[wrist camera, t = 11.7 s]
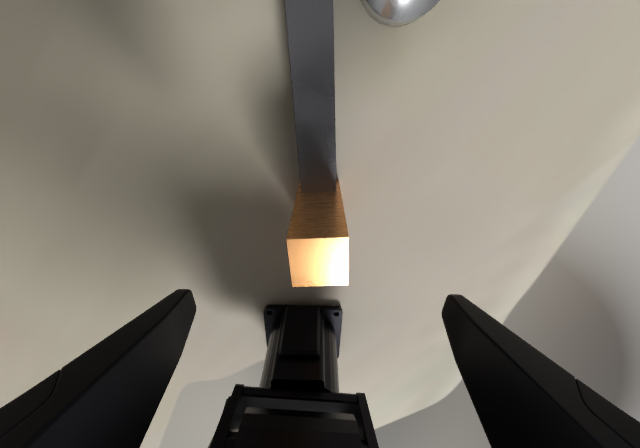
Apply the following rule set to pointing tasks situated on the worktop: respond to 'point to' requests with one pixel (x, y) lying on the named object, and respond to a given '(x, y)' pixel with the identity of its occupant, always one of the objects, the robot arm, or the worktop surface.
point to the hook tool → (315, 150)
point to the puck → (397, 10)
